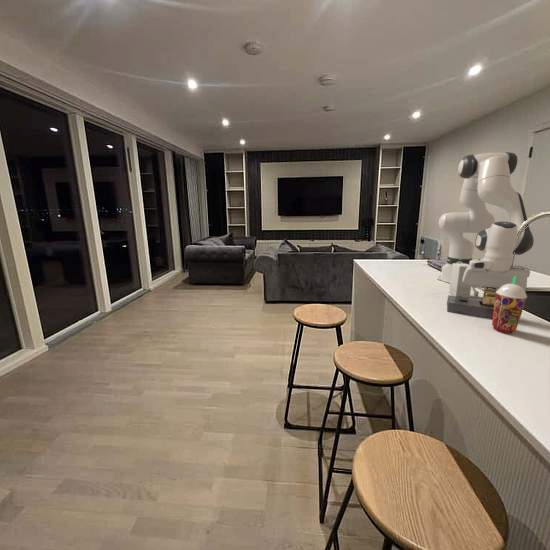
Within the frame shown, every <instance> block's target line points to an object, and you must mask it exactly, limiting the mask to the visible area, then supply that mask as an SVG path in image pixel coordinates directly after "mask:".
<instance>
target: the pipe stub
mask: <svg viewBox="0 0 550 550" xmlns="http://www.w3.org/2000/svg"><path fill="white" fill-rule="evenodd" d="M497 290H498V289H497ZM497 290H496V289H495V288H494V289H493V288H484V289H483V295H482V296H483V297H482V299H481V300H482V305H481V306H488V307H494V305H495V297H496V291H497Z"/></svg>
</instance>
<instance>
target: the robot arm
mask: <svg viewBox="0 0 550 550" xmlns="http://www.w3.org/2000/svg"><path fill="white" fill-rule="evenodd" d="M517 165H518V155H517V154H516V153H514V152H510V151H509V152H493V151H492V152H487V153H486V152H485V153H478V154H468V155H465V156H463V157H462V158H461V160H460V162H459V164H458V168H457V171H458V176H459V177H460V178H463V183H462V187H461V191H460V195H459V203H460V205H462V206H463V207H465V208H468V209H469V211H463V212H462V211H452V212H446V213H443V214H442V215H441V216H440V217H439V220H438V227H439V229H440V230H441V231H442V232H443V233H444V234H445V235H446V236H447V237H448V238H447V239H448V241H449V250H448V255H447V258H446V263H445V264H444V265H443V266H442V267H441V273H440V275H439V276H438V277H436V279H437V280H438V281H442V282H444V283H449V284H450V281H451V273H452V265H453V263H457V264H468V265H470V266H468V267H467V268H466V270H465V273H464V276H463V283H464V284H467V285H471V289H472V290H473V297H479V293H480V292H479V291H478V290H476V289H477V287H486V288H492V289H493V288H494V289H499V288H500V287H501V286H503V285H505V284H511V283H513V278H514V276H516V281H515V284H517V285H519V286H521V287H522V288H523V289H524V290H525V291H526V289H527V285H528V278H530V275H531V269H529V268H528V267H526V266H519V265H512V264H513V260H514V255H518V256H520V255H524V254H526V253H527V252H528V251H530V250H531V249H532V248H533V246H534V240H535V239H534V236H533V232H532V231H531V229H530V225H529V223H528V224H527V226H528V225H529V226H528V227H527V226H526V225H525V226H526V227H527V228H526V227H525V228H526V229H525V228H524V229H525V230H524V231H523V232H522V234H521V236H520V235H519V236H520V238H519V237H518V236H517V232H518V227H519V226H520V225H521V224H522V223H523V222H524V221H526V220H527V221H528V217H527V212H526V209H525V204H524V201H523V197H522V195H521V194H520V193H519V192H518V191H516V190H515V189H514V187H513V186H512V183H511V175H512V174H513V173H514V172H515V171H516V168H517ZM486 203H487V204H489V205H492V206H496V207H499V208H500V209H503V210H505V211H506V212H507V213H508V215H509V219H510V221H496V219H495V217H494V215H493V214H492V213H491V212H489V210H488V209H487V207H486ZM520 229H521V228H520ZM521 230H522V229H521ZM521 230H520V231H521ZM464 233H465V234H466V233H467V234H476V237H475V242H474V243H473V242H472V240H470V239H468V238H465V237H464ZM517 237H518V238H519V240H518V239H517ZM516 241H518V243H517V242H516ZM516 245H517V247H516ZM474 247H475V248H476V249H478V250H479V251H480V252H482V253H483V252H485V253H484V255H483V256H484V257H481V258H477V259H474V258H473V255H474V254H473V252H474V249H475V248H474ZM514 252H515V254H514Z"/></svg>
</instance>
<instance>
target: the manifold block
mask: <svg viewBox="0 0 550 550" xmlns="http://www.w3.org/2000/svg"><path fill="white" fill-rule="evenodd" d="M482 300H483V299H479V298H472V297H470V298H465V297H458V296H452V295H451V294H450V295H449V294H448V296H447V301H446V311H447V312H448V313H452V314H453V313H454V314H460V315H465V316H472V317H478V318H484V319H490V320H493V313H494V307H488V306H481V305H482Z"/></svg>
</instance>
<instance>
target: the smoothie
mask: <svg viewBox="0 0 550 550" xmlns="http://www.w3.org/2000/svg"><path fill="white" fill-rule="evenodd" d="M515 281H516V276H514V278H513V283H511V284H505V285H503V286H501V287H500V288H497V291H496V297H495V305H494V313H493V319H492V323H491V325H492V326H493V327H492V328H493V329H494V330H495V331H496V332H499V333H502V334H506V335H507V334H510V335H511V334H513V333H514V332H515V331H517V329H518V325H519V321H520V319H521V316H522V313H523V311H524V310H523V309H524V307H525V303H526V300H527V298H528V295H527V292H526V289H525V290H524V289H523V288H522V287H521V286H519V285H517V284H515Z"/></svg>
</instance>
